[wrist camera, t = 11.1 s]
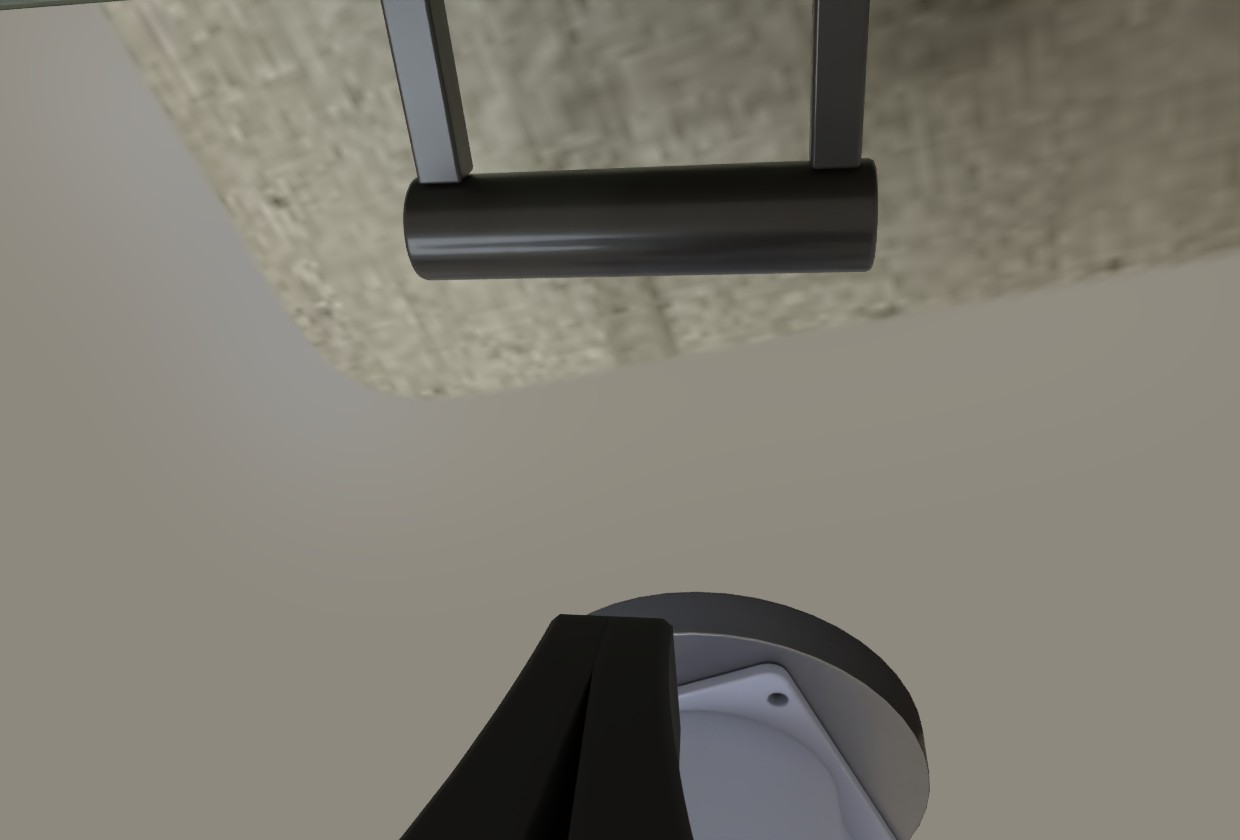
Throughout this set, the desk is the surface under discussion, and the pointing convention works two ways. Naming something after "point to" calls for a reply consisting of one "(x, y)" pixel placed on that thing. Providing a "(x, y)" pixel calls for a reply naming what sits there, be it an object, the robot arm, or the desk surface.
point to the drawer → (631, 181)
